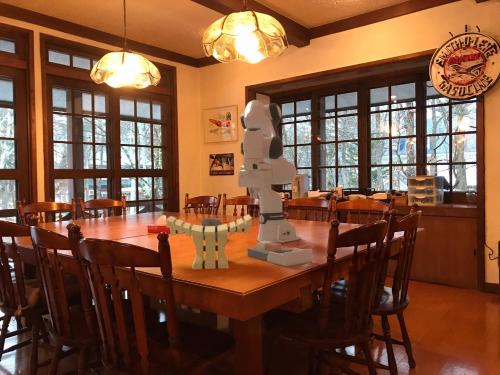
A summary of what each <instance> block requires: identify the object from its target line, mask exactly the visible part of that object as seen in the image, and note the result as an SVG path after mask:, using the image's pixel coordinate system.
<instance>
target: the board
mask: <svg viewBox="0 0 500 375" xmlns="http://www.w3.org/2000/svg"><path fill="white" fill-rule="evenodd" d="M291 251H293V248H287V247H283V246H282V250H280V251H274V252H275V253H284V252H291ZM268 252H269V251H268V250H266V249H265V250H264V249H260V248H258V246H257V247H249V248H247V256H248V257H250V258H253V259H257V260H260V261H264V262H267V255H268ZM271 252H272V251H271Z"/></svg>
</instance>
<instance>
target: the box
mask: <svg viewBox="0 0 500 375" xmlns="http://www.w3.org/2000/svg"><path fill="white" fill-rule="evenodd" d="M292 250H293V251H291V252H284V253H275V252H271V251H269V252H268V255H267V261H266V262H267V263H270V264H274V265H277V266H281V267H284V268H288V267H293V266H299V265H304V264H309V263H311V264H312V263H313V248H306V249H302V248H297V247H293V248H292Z"/></svg>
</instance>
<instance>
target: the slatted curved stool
mask: <svg viewBox="0 0 500 375" xmlns="http://www.w3.org/2000/svg"><path fill="white" fill-rule="evenodd" d="M228 224H229V226H228ZM251 227H252V216H251V215H250V214H246V215H244V216H243V218H239V219H236V223H235V221H230V222H229V223H226V224H225V223H224V224H221V225H219V226H217V227H215V226H205V227H203V226H201V225H198V224H197V225H196V224H192V223H190V222H185V223H184V221H183V220H182V219H179V218H178V219H177V217H176V216H172V215H170V216H168V218H166V228H167V229H168V228H169V230H170V231H169V232H170V237H172V236H174V235H175V236H176V235H184V236H187V237H190V238H191V237H192V241H193V243H194V247H195V251H196V255H195V258H194V260H193V263H192V267H191V270H203V269H204V270H208V269H209V270H210V269H211V270H213V269H229V268H230V267H229V260H228V258H227V256H226V253H225V249H226V248H225V247H226V246H227V245H226V244H227V242H228V235H229V237H231V236H233V235H235V234H236V233H237V234H242V233H244V234H247V235H250V228H251ZM215 232H218V240H217V245H216V240H215ZM203 233H204V235H205V240H203ZM204 242H205V244H204ZM216 252H217V258H216ZM204 253H205V258H204ZM216 259H217V261H216Z"/></svg>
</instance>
